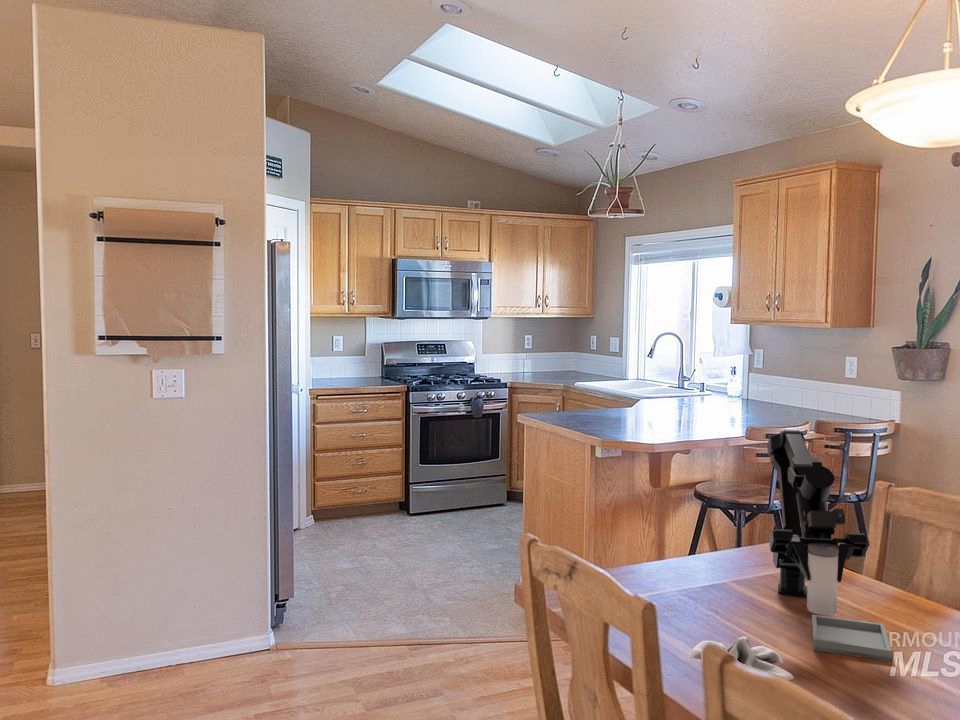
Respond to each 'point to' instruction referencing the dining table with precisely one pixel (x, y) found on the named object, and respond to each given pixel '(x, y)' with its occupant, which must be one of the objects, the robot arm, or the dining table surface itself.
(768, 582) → the dining table surface
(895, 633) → the dining table surface
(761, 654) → the cloth
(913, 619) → the dining table surface
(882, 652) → the tray
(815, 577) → the shaker
